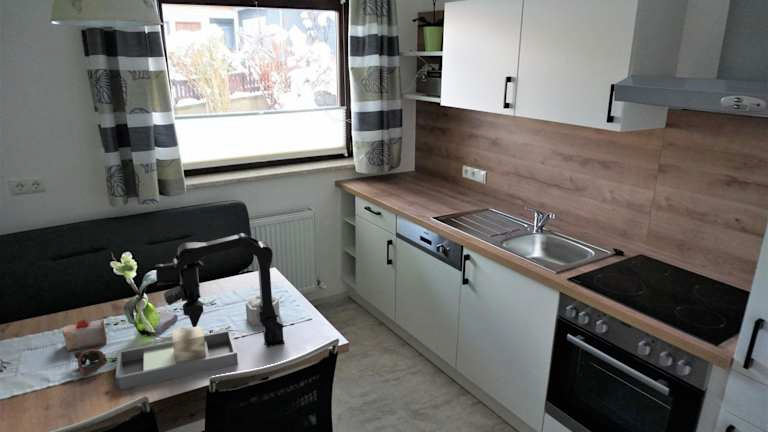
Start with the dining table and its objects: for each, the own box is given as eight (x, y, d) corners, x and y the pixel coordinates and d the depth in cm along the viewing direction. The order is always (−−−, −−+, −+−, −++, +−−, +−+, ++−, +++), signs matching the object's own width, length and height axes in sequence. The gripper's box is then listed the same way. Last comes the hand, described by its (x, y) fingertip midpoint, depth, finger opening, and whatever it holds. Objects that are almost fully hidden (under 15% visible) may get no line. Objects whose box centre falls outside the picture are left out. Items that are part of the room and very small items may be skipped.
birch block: (203, 344, 187) (201, 325, 184) (206, 356, 180) (203, 336, 177) (174, 350, 183) (171, 330, 181) (175, 362, 176) (172, 342, 174)
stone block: (141, 336, 202) (162, 334, 199) (137, 324, 201) (159, 322, 198) (159, 322, 213) (180, 320, 210) (156, 311, 212) (177, 309, 209)
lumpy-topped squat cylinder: (244, 316, 213) (243, 297, 211) (274, 308, 220) (273, 290, 217) (252, 327, 205) (251, 307, 202) (283, 318, 212) (282, 299, 209)
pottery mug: (116, 362, 182) (110, 351, 176) (98, 386, 176) (91, 375, 170) (86, 350, 183) (79, 339, 177) (67, 374, 177) (59, 363, 171)
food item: (64, 354, 186) (59, 329, 183) (67, 343, 193) (62, 319, 190) (106, 345, 191) (102, 322, 188) (107, 335, 198) (103, 312, 195)
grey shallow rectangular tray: (231, 340, 195) (230, 329, 194) (237, 364, 181) (236, 352, 179) (120, 362, 181) (118, 351, 180) (117, 390, 166) (115, 378, 165)
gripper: (163, 272, 180) (167, 312, 185) (164, 295, 164) (169, 338, 169) (196, 268, 184) (200, 307, 189) (201, 289, 168) (205, 332, 173)
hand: (193, 320), depth 180 cm, fingers open, 9 cm apart
